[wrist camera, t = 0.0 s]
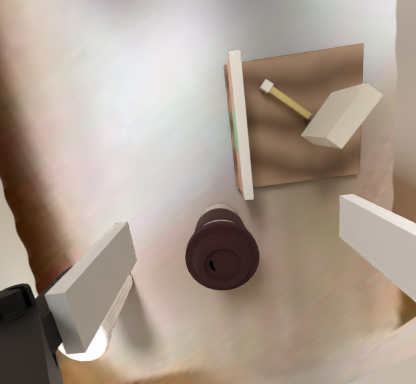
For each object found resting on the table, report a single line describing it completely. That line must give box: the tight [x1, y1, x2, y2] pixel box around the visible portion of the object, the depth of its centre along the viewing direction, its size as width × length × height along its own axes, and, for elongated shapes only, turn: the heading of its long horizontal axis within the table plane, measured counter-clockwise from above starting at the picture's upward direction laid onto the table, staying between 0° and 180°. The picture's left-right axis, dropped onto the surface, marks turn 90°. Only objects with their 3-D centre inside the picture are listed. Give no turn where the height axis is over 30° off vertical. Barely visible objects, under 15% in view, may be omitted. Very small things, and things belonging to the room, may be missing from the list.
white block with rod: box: [259, 79, 383, 149], centre depth 32 cm, size 11×7×12 cm, turn 58°
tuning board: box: [224, 43, 364, 189], centre depth 39 cm, size 20×21×1 cm
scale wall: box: [227, 50, 254, 200], centre depth 36 cm, size 20×1×7 cm, turn 8°
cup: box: [58, 274, 133, 361], centre depth 41 cm, size 8×8×14 cm
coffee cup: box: [185, 204, 259, 290], centre depth 37 cm, size 10×10×15 cm
